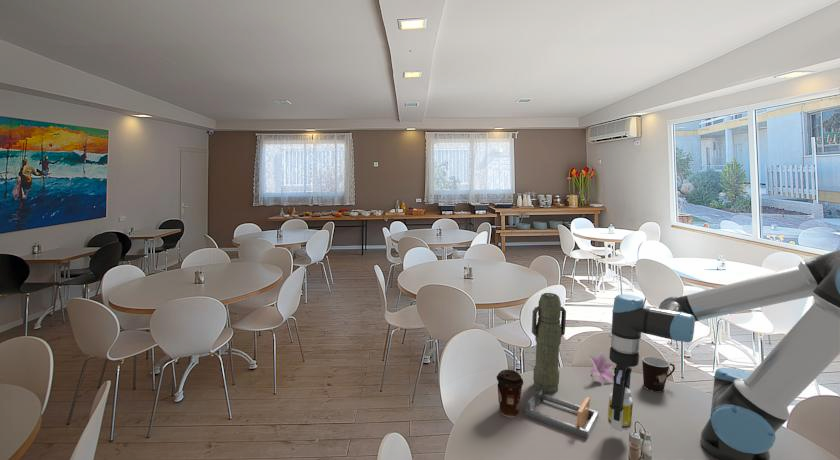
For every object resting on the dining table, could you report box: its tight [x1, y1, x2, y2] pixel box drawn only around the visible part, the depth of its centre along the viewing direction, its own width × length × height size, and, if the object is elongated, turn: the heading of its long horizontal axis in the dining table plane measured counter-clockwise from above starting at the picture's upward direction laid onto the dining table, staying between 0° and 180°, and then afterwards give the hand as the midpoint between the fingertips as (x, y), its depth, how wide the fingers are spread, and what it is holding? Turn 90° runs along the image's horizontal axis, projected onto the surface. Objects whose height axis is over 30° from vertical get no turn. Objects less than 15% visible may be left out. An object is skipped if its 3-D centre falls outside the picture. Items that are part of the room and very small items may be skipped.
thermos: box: [531, 292, 567, 394], centre depth 141 cm, size 9×12×35 cm
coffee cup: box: [496, 369, 524, 419], centre depth 127 cm, size 9×8×13 cm
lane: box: [525, 388, 599, 439], centre depth 125 cm, size 19×13×4 cm
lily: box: [589, 350, 614, 386], centre depth 149 cm, size 12×12×10 cm
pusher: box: [542, 396, 591, 428], centre depth 124 cm, size 13×10×6 cm
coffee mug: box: [641, 355, 676, 392], centre depth 143 cm, size 12×9×10 cm
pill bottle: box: [607, 387, 634, 431], centre depth 114 cm, size 6×6×11 cm
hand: (618, 423), depth 115 cm, fingers closed on pill bottle, 6 cm apart
